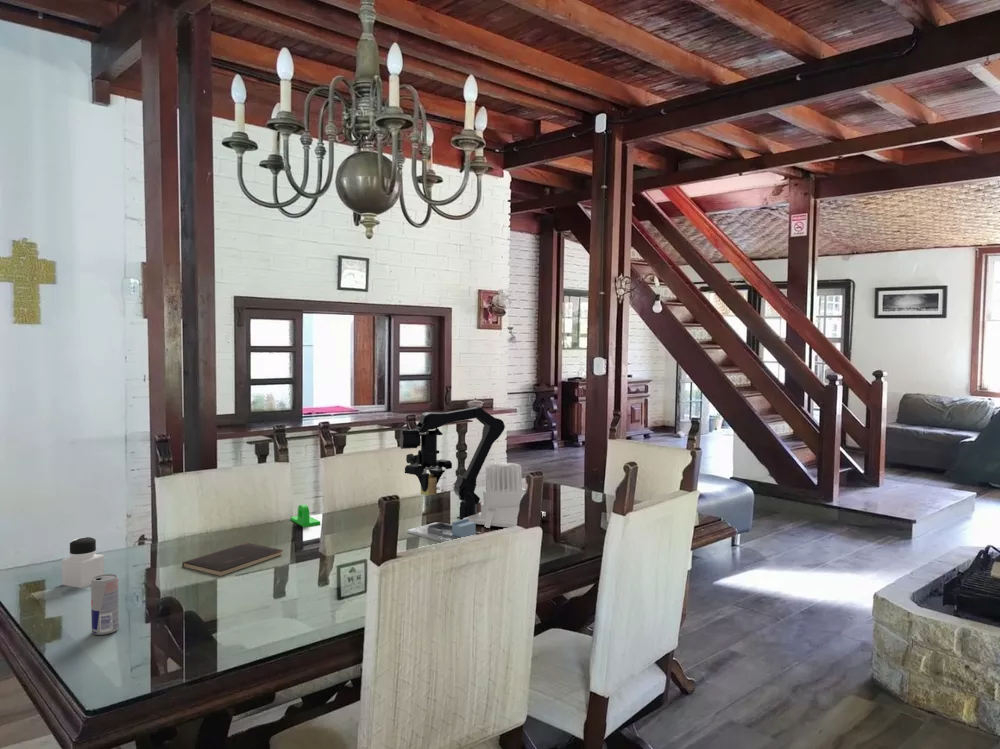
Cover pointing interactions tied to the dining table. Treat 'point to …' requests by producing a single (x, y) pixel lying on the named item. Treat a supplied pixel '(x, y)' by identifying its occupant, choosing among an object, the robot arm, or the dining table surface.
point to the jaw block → (431, 486)
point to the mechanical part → (304, 517)
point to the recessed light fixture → (500, 496)
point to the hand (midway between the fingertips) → (428, 490)
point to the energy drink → (104, 604)
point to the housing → (463, 528)
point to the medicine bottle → (82, 563)
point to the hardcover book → (232, 559)
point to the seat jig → (435, 531)
